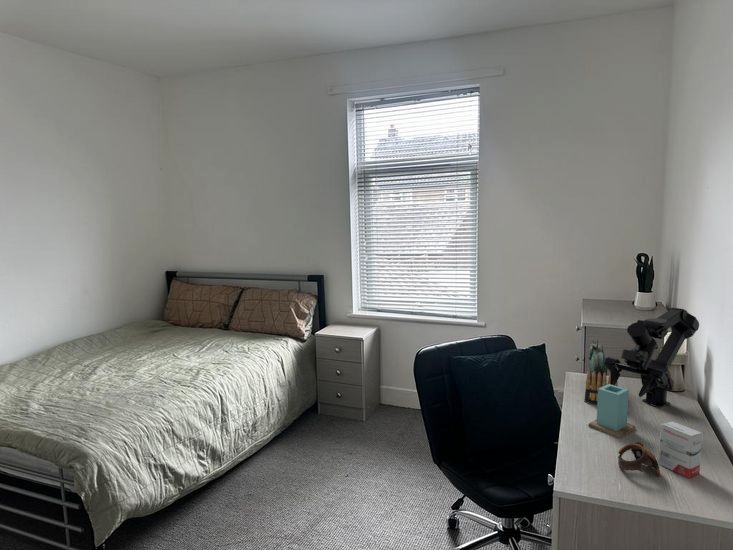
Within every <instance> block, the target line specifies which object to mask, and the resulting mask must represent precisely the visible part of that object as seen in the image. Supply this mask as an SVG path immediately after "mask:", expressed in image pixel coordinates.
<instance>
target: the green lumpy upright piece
mask: <svg viewBox="0 0 733 550" xmlns="http://www.w3.org/2000/svg"><path fill="white" fill-rule="evenodd" d="M587 354H588V355H587V356H588V360H589V361H590V362H589V371H590V381H592V374H593V372H594V371H595V375H596V385H597V378H598V373H599V372H600V373H601V383H602V382H603V375H604V373H606V377H608V368H607V367H606V365H605V364H604V360H605V359H606V358H607V357H605V352H604V346H603V344H601V343H599V339H596V342H595V340H594V339H593V340H592V343H590V344H589V349H588V353H587ZM601 387H602V386H601Z"/></svg>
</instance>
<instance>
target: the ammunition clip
mask: <svg viewBox="0 0 733 550" xmlns="http://www.w3.org/2000/svg"><path fill="white" fill-rule="evenodd" d="M607 377H608V380H607ZM607 377H606V373H604V375H603V382H602V383H601V373H600V372H599V373H598V378H597V385H596V375H595V371H594V372H593V374H592V381H590V369H588V370H587V372H586V379H585V388H584V389H585V390H584V391H585V392H584V403H587V402H589V403H588V404H593V403H594V404H593V405H597V402H598V389H599V388H601V386H602V387H603V386H605V385H607V384H610V379H611V374H610V373H609V375H608V376H607ZM618 381H619V379H618V380H617V382H616V384H615V386H617V387H619V384H618V383H619V382H618Z"/></svg>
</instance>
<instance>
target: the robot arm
mask: <svg viewBox="0 0 733 550" xmlns="http://www.w3.org/2000/svg"><path fill="white" fill-rule="evenodd" d="M668 309H669V310H667V311H666V312H664V313H663V314H662V315H661V314H660V315H659V316H658V317H654V318H646V319H644V320H640V319H638V320H637V321H636V322H633V323H631V324H629V326H628V327H627V329H626V331H627V334H628V336H629V338H630V339H631V340H632V342H633V343H634V344H635V346H634V348H633V349H630V350H629V349H627V348H623V350H622V353H621V355H620V359H621V360H623V359H624V360H623V361H624V363H626V364H623V363H621V361H620V359H619V358H614V357H611V356H607V357H605V358H606V359H605V360H604V364H605V365H606V367H607V371H609V372H610V373H609V374H611V379H610V384H611V385H614V386H615V384H616V382H618V381H619V379H620V377H621V372H622V371H626V372H631V373H633V374H637V375H640V379H641V380H640V381H641V388H640V390H639V392H638V397H639V398H642V397H643V396H644V395H645V398H643V399H642V400H641V401H642V402H644V403H647V404H649V405H651V406H654V407H656V408H661V407H662V408H663V407H665V406H670V405H671V402H669V401H668V400H667V398H668V391H669V392H670V391H671V392H672V391H673V387H674V384H675V383H674V381H673V379H672V377H671V376H672V375H671V371H670V367H671V365H672V364H673V362H674V360H675V358H676V356H677V355H678V353H679V351H680V350H681V347H682V345H683V344H684V342H685V340H687V339H690V338H692V337H693V336H694V335H695V333H696V332H697V331H698V330H699V328H700V321H699V320H698V319H697V317H696V316H694V315H692V314H691V313H689V312H688V310H686V309H684V308H678V307H669V308H668ZM669 329H670V330H671V332H670V334H669V336H668V337H667V339H666V341H665V342H664V345H663V346H662V348H661V349H660V351H659V353H658V355H657V356H656V357H655V359H652V357H653V355H654V353H655V351H656V350H659V347H658V343H657V341H656V339H658V340H663V339H665V338H666V336H667V335H668V333H669ZM617 380H618V381H617Z"/></svg>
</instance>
